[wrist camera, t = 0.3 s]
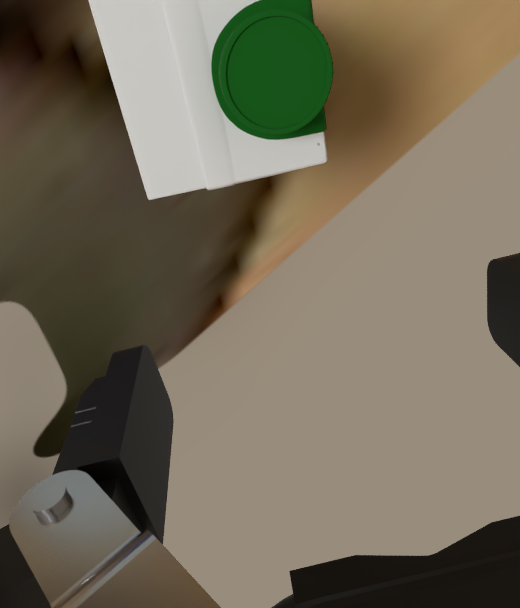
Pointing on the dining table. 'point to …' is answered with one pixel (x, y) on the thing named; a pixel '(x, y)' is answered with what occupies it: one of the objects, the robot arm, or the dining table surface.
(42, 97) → the dining table surface
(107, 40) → the milk carton
